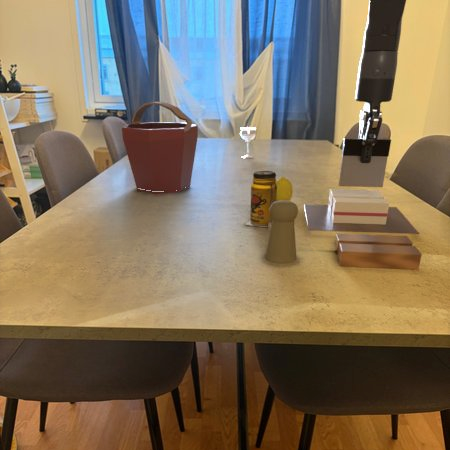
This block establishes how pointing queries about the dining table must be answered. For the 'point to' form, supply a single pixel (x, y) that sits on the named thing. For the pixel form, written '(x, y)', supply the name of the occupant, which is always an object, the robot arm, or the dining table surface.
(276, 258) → the cork
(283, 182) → the lemon
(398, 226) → the cake board
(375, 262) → the wooden card holder
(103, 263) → the dining table surface
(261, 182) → the condiment
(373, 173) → the black and beige panel
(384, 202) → the cake slice
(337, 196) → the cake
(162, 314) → the dining table surface
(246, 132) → the wineglass
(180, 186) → the bucket
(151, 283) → the dining table surface
